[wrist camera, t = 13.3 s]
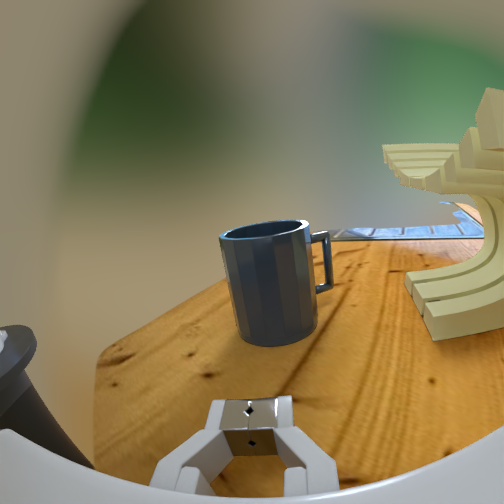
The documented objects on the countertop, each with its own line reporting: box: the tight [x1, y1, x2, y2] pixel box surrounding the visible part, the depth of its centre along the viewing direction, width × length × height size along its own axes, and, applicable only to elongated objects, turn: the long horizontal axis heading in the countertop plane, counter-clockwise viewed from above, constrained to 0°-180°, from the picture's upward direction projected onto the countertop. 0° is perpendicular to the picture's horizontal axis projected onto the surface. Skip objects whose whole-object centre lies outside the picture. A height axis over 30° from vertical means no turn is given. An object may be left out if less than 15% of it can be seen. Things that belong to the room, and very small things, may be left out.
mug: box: [219, 220, 334, 346], centre depth 27 cm, size 11×8×10 cm
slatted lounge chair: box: [382, 88, 504, 341], centre depth 20 cm, size 30×16×18 cm, turn 163°
